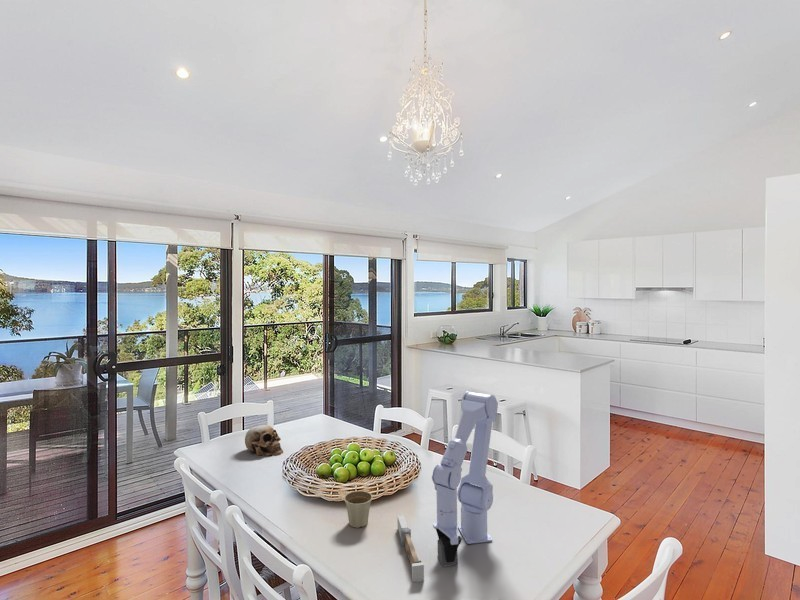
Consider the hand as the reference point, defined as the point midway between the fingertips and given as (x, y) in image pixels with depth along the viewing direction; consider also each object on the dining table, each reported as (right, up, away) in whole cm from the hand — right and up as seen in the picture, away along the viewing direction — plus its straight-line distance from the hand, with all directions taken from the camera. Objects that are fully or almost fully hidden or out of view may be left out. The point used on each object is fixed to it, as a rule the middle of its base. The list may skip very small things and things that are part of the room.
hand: (447, 555), depth 121 cm
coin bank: (-79, -1, +87) cm, 117 cm away
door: (-10, -1, 0) cm, 10 cm away
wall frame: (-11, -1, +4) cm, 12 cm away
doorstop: (0, -2, 0) cm, 2 cm away
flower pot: (-27, -2, +21) cm, 34 cm away
